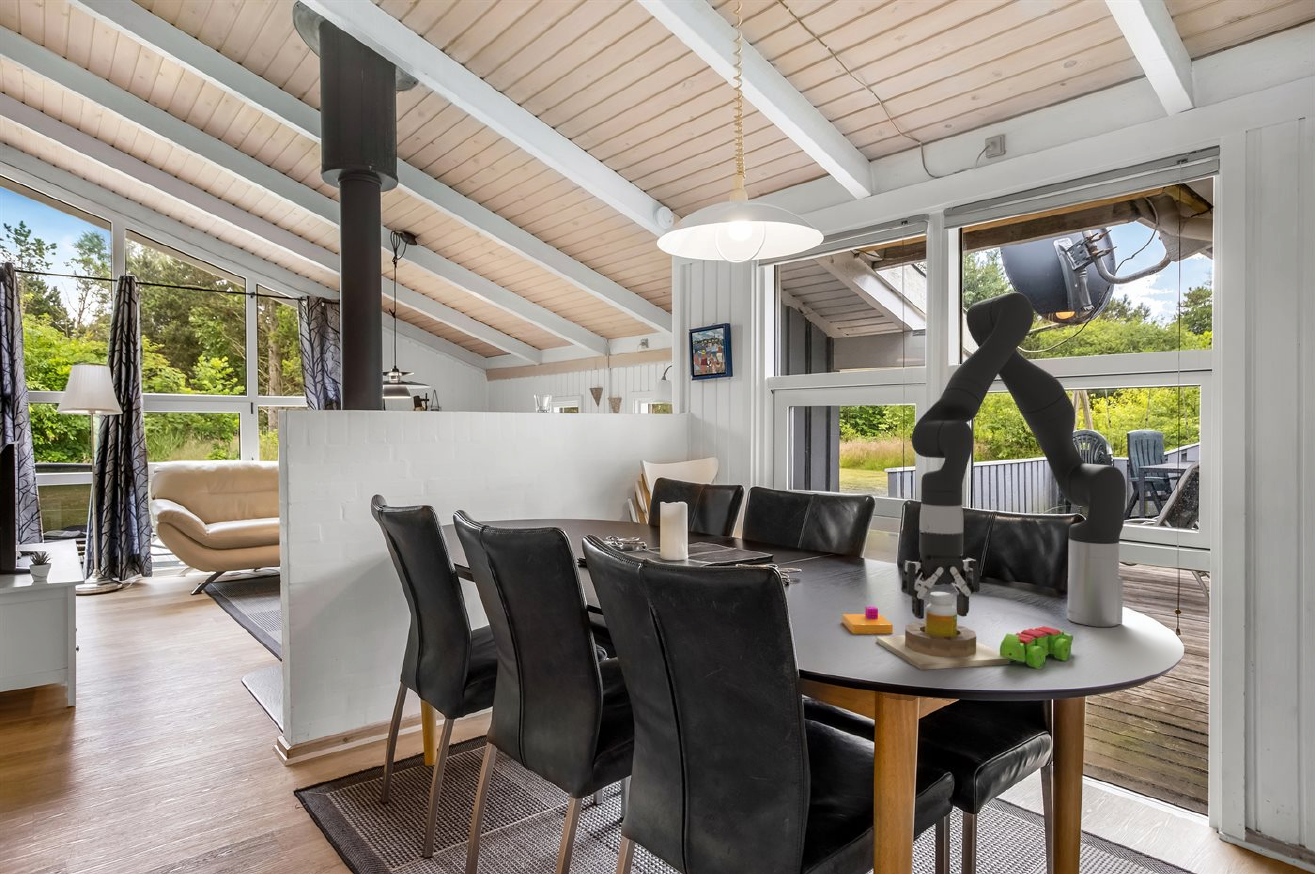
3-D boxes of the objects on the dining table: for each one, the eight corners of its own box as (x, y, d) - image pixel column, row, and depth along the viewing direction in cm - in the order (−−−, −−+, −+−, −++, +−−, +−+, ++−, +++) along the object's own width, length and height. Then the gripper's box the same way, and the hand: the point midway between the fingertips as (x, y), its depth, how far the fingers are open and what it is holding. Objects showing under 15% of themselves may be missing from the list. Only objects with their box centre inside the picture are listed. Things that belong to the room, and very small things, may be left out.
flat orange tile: (892, 635, 149) (892, 614, 148) (852, 635, 148) (853, 614, 148) (880, 624, 157) (880, 604, 156) (842, 624, 156) (842, 604, 156)
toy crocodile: (1049, 646, 141) (1049, 614, 141) (1085, 655, 135) (1085, 622, 135) (985, 664, 130) (985, 630, 130) (1020, 675, 125) (1021, 639, 125)
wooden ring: (951, 635, 143) (951, 620, 143) (989, 655, 132) (990, 638, 132) (893, 638, 141) (893, 623, 141) (927, 659, 129) (927, 642, 129)
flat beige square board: (957, 637, 146) (957, 631, 146) (1009, 663, 130) (1009, 658, 130) (876, 641, 143) (876, 636, 143) (920, 669, 127) (920, 663, 127)
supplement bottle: (958, 652, 133) (960, 598, 133) (927, 649, 135) (928, 596, 134) (953, 643, 139) (954, 591, 138) (923, 641, 140) (924, 589, 139)
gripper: (964, 524, 141) (963, 609, 141) (895, 526, 138) (894, 613, 139) (989, 530, 133) (987, 620, 134) (916, 533, 131) (915, 624, 131)
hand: (940, 616), depth 136 cm, fingers open, 8 cm apart
